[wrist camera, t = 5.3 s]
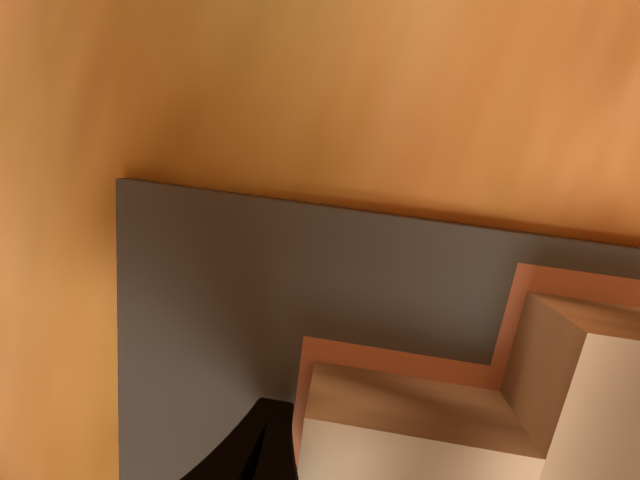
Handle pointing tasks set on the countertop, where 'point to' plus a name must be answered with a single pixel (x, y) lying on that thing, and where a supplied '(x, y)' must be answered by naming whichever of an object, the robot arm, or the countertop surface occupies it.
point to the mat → (312, 306)
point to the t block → (492, 408)
